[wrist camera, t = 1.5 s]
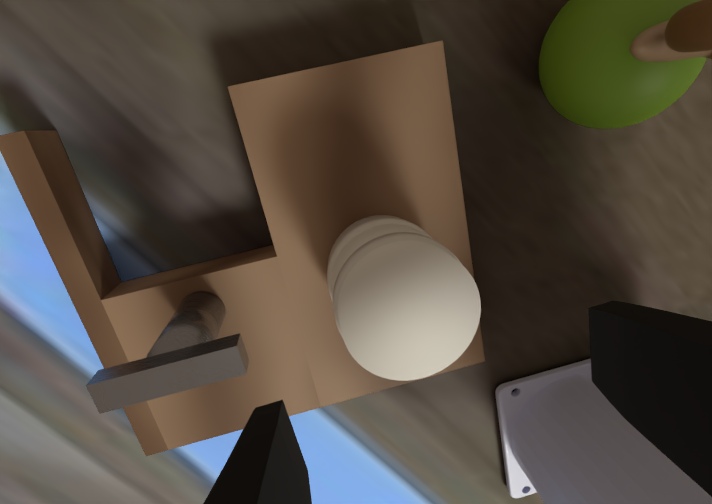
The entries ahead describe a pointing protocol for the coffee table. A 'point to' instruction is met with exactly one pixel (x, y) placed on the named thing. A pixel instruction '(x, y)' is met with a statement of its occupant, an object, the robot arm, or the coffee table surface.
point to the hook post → (175, 358)
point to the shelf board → (288, 231)
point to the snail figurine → (623, 58)
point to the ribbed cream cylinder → (400, 298)
